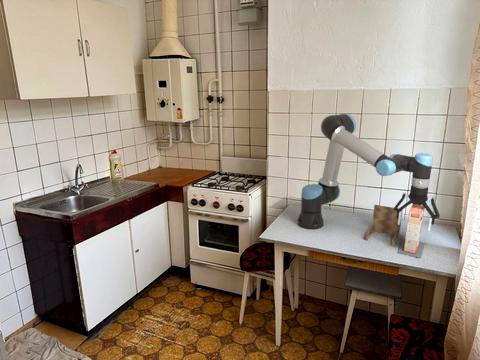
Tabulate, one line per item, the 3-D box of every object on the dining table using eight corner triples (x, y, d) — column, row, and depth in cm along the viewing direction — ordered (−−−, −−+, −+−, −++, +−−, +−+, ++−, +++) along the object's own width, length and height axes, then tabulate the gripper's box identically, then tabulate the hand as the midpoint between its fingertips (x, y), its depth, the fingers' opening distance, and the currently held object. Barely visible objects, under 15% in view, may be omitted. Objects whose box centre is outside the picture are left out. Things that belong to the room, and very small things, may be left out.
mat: (397, 253, 169) (397, 252, 169) (403, 239, 184) (403, 238, 184) (420, 258, 164) (420, 257, 164) (424, 244, 178) (424, 242, 178)
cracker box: (416, 254, 166) (422, 214, 161) (403, 251, 170) (408, 211, 164) (420, 243, 178) (425, 205, 172) (407, 240, 181) (412, 203, 175)
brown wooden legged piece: (365, 240, 184) (367, 213, 180) (372, 229, 197) (374, 204, 193) (394, 246, 176) (397, 218, 172) (399, 234, 189) (402, 209, 185)
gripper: (390, 184, 169) (385, 224, 174) (449, 192, 155) (442, 235, 161) (393, 180, 175) (388, 219, 180) (450, 188, 162) (443, 229, 167)
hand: (413, 227), depth 171 cm, fingers open, 13 cm apart
